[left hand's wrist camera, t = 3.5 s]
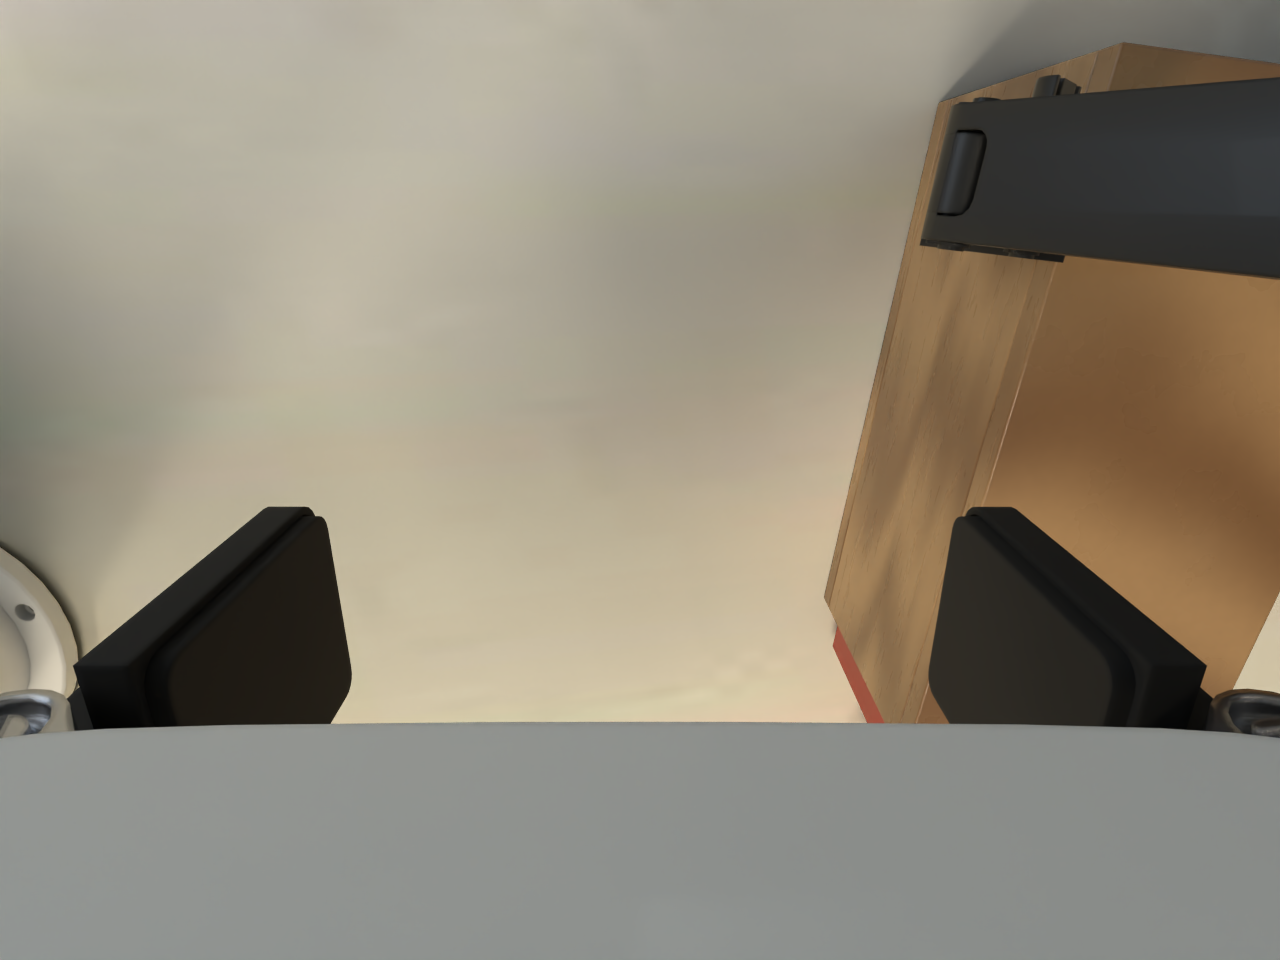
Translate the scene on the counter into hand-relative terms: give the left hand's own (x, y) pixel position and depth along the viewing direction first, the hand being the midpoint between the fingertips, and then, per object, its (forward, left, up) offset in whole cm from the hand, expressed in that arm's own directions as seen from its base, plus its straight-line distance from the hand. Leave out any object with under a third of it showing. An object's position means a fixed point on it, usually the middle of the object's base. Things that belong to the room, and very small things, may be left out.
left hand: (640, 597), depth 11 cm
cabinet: (+1, -15, -21) cm, 26 cm away
